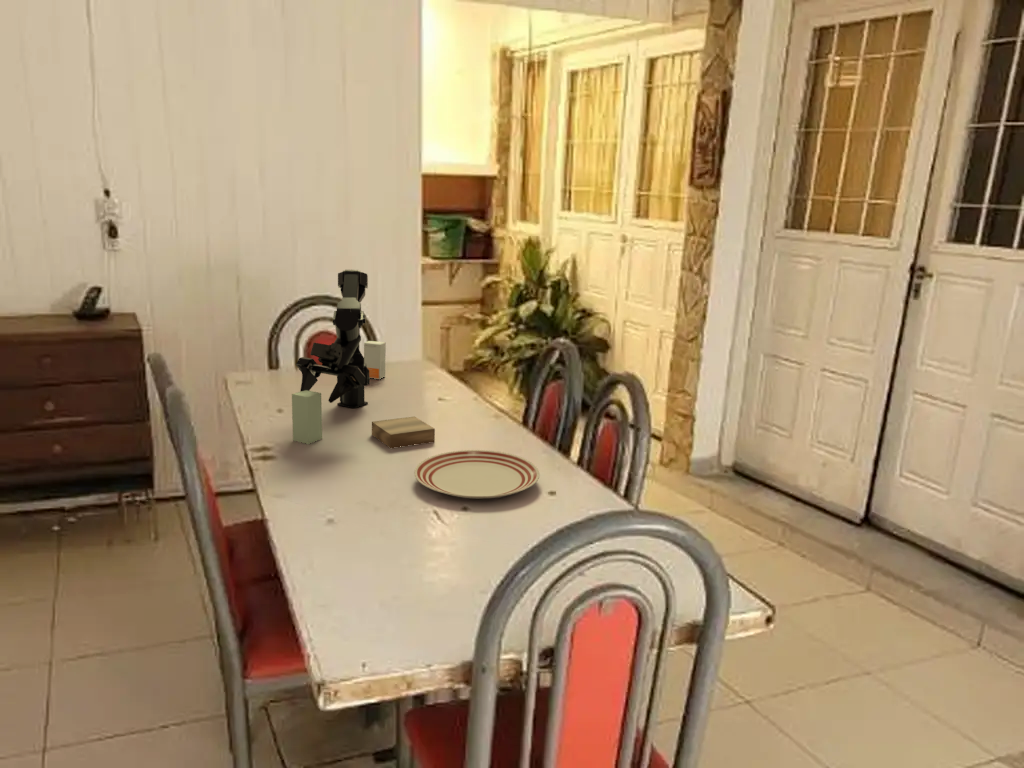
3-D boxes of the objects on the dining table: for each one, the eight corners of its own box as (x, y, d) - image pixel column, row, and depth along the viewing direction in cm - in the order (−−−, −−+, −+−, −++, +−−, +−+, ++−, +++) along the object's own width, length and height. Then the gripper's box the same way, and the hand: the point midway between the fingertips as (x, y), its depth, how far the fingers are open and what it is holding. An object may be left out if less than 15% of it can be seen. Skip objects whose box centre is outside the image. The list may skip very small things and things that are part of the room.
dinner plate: (526, 514, 165) (527, 499, 164) (396, 499, 170) (396, 484, 169) (548, 469, 191) (548, 456, 190) (435, 458, 196) (435, 444, 195)
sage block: (322, 439, 206) (321, 393, 203) (308, 444, 201) (307, 397, 199) (306, 435, 208) (305, 390, 205) (293, 440, 204) (291, 394, 201)
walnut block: (371, 436, 211) (371, 421, 210) (414, 430, 217) (414, 416, 216) (390, 450, 201) (390, 434, 200) (434, 443, 207) (434, 428, 206)
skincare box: (363, 378, 269) (363, 342, 266) (369, 375, 273) (369, 340, 270) (380, 380, 267) (380, 344, 264) (386, 377, 271) (386, 342, 268)
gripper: (299, 326, 210) (270, 375, 203) (358, 334, 201) (329, 386, 194) (320, 351, 218) (293, 400, 211) (377, 360, 210) (350, 411, 203)
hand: (315, 399), depth 205 cm, fingers open, 9 cm apart
